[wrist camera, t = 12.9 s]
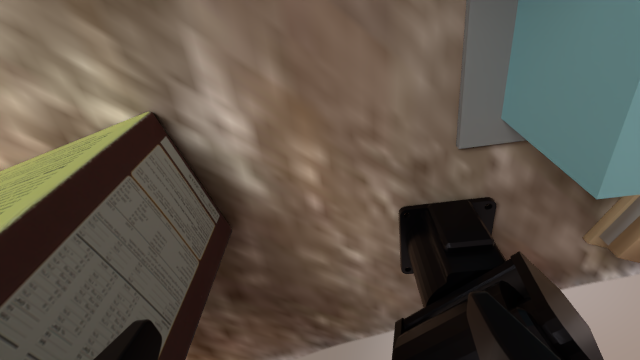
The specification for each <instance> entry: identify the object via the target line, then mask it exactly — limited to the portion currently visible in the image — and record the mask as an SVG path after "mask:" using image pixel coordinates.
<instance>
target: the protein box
mask: <svg viewBox="0 0 640 360" xmlns="http://www.w3.org/2000/svg"><path fill="white" fill-rule="evenodd" d="M231 232H232V229H231V227H230V226H229V224H228V223H227V221H226V220H225V218H224V217H223V216H222V214H221V213H220V211H219V210H218V208H217V207H216V205H215V204H214V202H213V201H212V199H211V198H210V196H209V195H208V194H207V192H206V191H205V189H204V188H203V186H202V185H201V183H200V182H199V180H198V179H197V177H196V176H195V174H194V173H193V171H192V170H191V169H190V167H189V166H188V164H187V163H186V161H185V160H184V158H183V157H182V155H181V154H180V152H179V151H178V149H177V148H176V146H175V145H174V143H173V142H172V140H171V139H170V138H169V136H168V135H167V133H166V132H165V130H164V129H163V127H162V126H161V124H160V123H159V122H158V120H157V119H156V117H155V116H154V114H153V113H152V112H146V113H143V114H141V115H139V116H136V117H134V118H131V119H129V120H126V121H124V122H121V123H119V124H116V125H114V126H111V127H109V128H107V129H104V130H102V131H99V132H97V133H94V134H92V135H89V136H87V137H84V138H82V139H79V140H77V141H74V142H72V143H69V144H67V145H65V146H62V147H60V148H57V149H55V150H52V151H50V152H47V153H45V154H42V155H40V156H37V157H35V158H32V159H30V160H27V161H25V162H22V163H20V164H18V165H15V166H13V167H10V168H8V169H5V170H3V171H0V360H93V359H94V358H95V357H97V356H98V355H99V354H100V353H101V352H102V351H103V350H104V349H105V348H106V347H107V346H108V345H109V344H110V343H111V342H112V341H113V340H115V339H116V338H117V337H118V336H119V335H120V334H121V333H122V332H123V331H124V330H125V329H126V328H127V327H128V326H129V325H130V324H131V323H133V322H134V321H136V320H143V319H149V320H151V321H152V322H153V324H154V325H155V326H156V328H157V329H158V331H159V332H160V333H161V335H162V345H161V350H160V354H159V358H158V360H185V359H186V356H187V353H188V350H189V347H190V345H191V342H192V339H193V337H194V334H195V331H196V328H197V326H198V323H199V320H200V317H201V314H202V312H203V309H204V306H205V304H206V301H207V298H208V295H209V292H210V290H211V287H212V284H213V281H214V279H215V276H216V273H217V270H218V268H219V265H220V262H221V259H222V256H223V254H224V251H225V248H226V245H227V243H228V240H229V237H230V235H231Z"/></svg>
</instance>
